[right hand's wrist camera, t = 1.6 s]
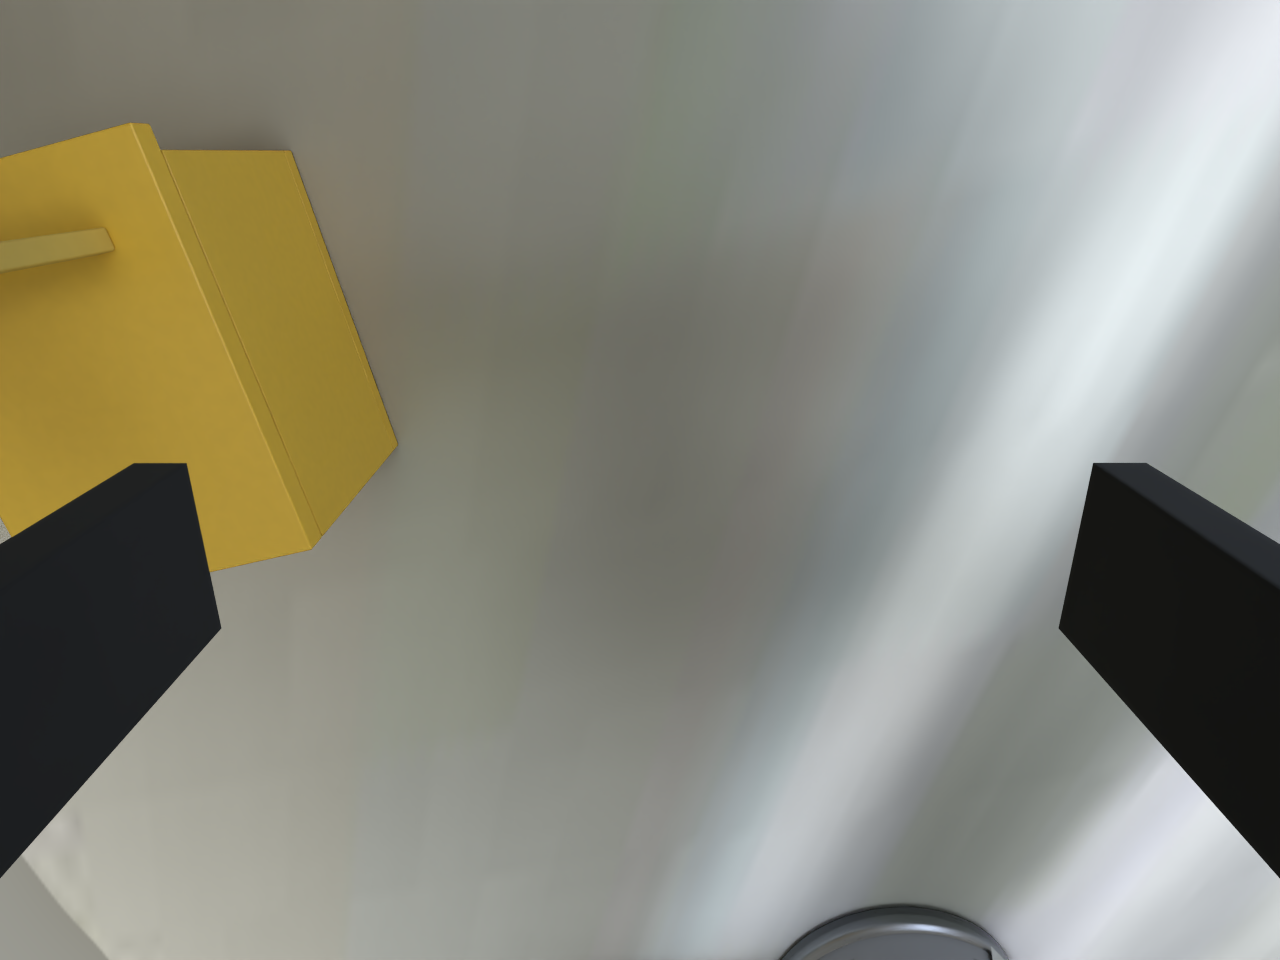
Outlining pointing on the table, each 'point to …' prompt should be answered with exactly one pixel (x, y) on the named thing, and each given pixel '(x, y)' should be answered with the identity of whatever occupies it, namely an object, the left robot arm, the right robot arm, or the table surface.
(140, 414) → the lid
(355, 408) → the chest
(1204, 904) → the table surface
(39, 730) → the right robot arm
